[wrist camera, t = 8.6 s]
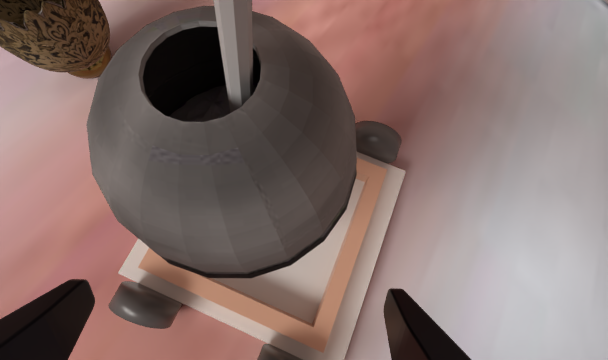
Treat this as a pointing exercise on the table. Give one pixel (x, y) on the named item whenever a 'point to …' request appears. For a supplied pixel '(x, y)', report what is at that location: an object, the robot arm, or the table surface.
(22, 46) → the cup
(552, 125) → the table surface
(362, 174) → the chassis
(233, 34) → the beverage cup
